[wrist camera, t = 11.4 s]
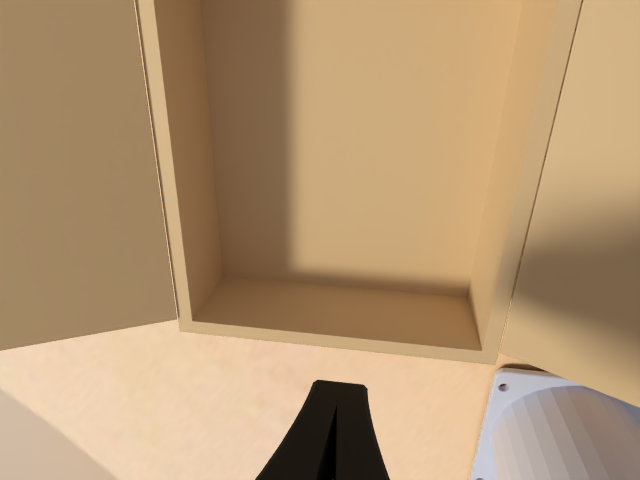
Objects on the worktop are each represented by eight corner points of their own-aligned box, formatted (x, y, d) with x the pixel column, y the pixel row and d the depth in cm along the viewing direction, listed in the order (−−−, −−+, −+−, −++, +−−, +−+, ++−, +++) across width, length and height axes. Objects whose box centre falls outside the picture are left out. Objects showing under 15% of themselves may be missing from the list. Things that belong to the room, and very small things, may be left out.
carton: (475, 302, 22) (495, 365, 18) (216, 278, 23) (180, 331, 19) (550, -69, 15) (606, -103, 11) (185, -69, 17) (121, -99, 13)
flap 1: (-163, -94, 11) (-150, -89, 12) (-5, 351, 17) (-1, 341, 17) (123, -70, 13) (124, -67, 14) (177, 319, 19) (176, 311, 20)
